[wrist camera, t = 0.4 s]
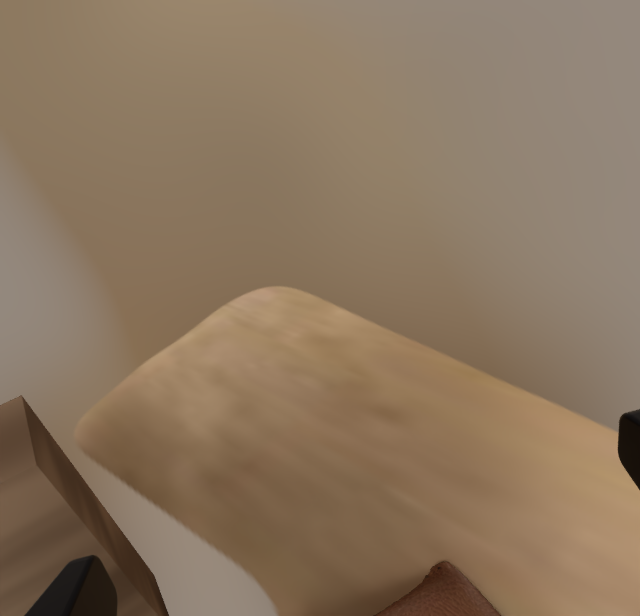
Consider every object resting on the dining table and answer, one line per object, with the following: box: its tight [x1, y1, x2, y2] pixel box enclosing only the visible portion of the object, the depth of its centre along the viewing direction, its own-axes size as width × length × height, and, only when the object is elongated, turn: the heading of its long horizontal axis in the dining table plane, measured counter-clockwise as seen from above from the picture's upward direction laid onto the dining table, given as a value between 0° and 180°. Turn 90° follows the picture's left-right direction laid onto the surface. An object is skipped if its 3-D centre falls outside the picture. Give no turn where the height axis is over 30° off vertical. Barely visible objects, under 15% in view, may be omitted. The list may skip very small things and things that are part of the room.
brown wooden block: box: [0, 396, 169, 616], centre depth 20 cm, size 4×6×13 cm, turn 122°
